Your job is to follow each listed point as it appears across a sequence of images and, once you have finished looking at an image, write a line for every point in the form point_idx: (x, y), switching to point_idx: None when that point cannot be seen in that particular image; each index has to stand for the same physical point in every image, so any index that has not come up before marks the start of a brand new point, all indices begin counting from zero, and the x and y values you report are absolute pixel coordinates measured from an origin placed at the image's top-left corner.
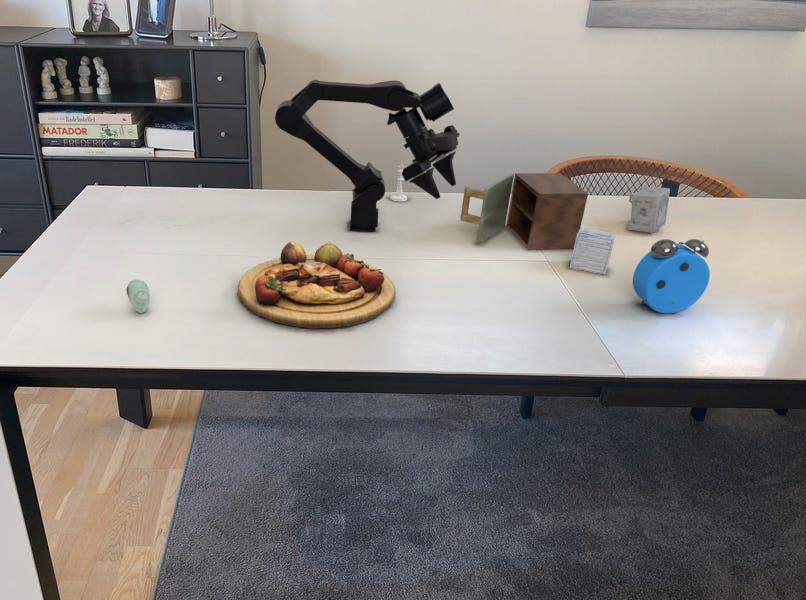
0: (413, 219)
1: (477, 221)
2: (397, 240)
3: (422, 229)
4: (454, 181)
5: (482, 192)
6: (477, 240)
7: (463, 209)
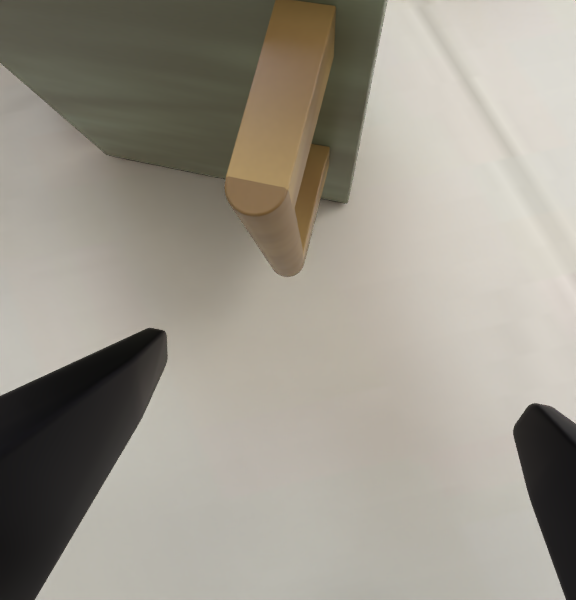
0: (170, 524)
1: (324, 176)
2: (468, 536)
3: (278, 455)
4: (149, 344)
5: (320, 38)
6: (348, 195)
7: (300, 249)
